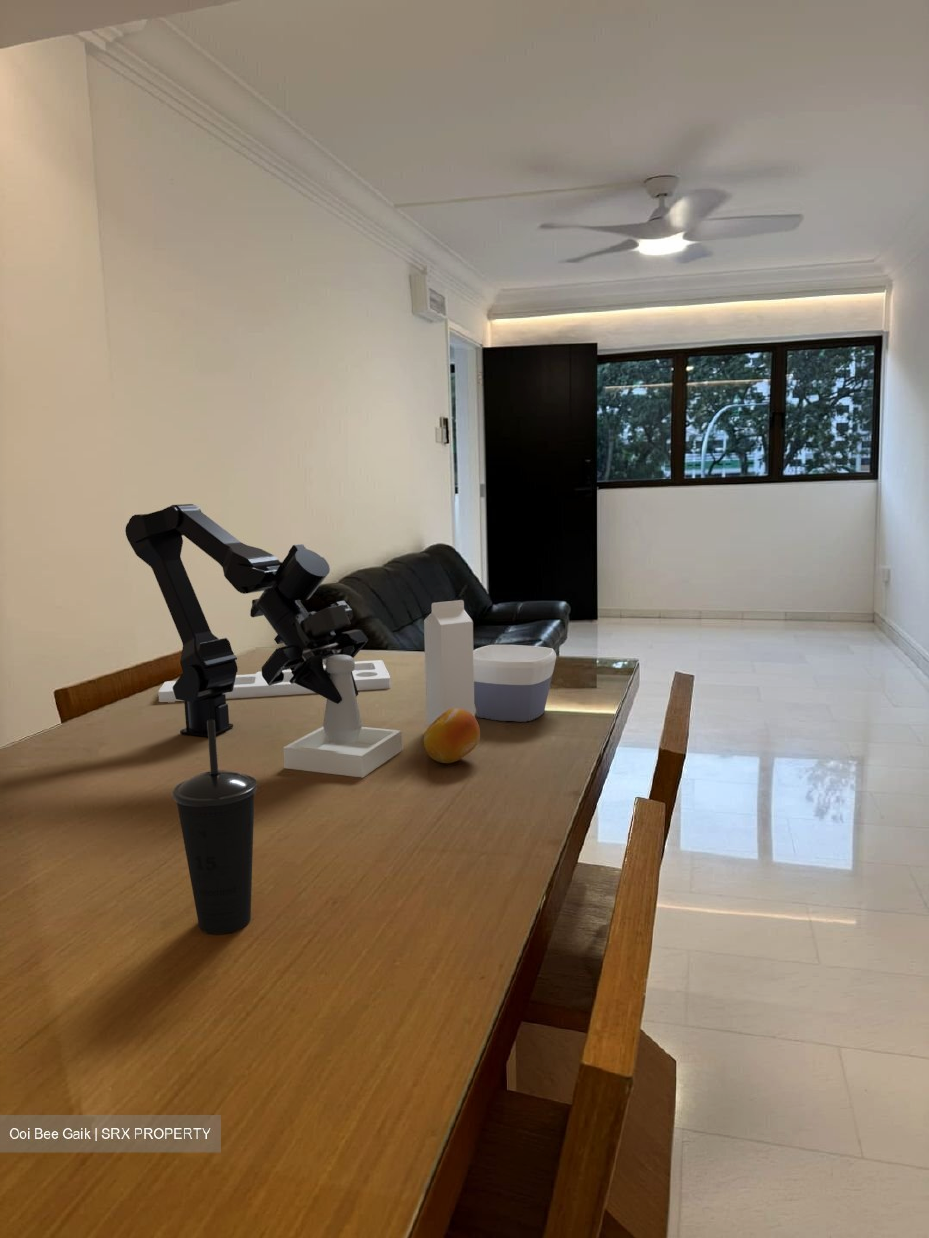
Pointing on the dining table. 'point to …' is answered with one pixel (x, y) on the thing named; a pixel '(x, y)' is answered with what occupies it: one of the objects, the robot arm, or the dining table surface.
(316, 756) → the dish
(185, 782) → the drinking cup
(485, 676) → the bowl
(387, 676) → the holder
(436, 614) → the milk
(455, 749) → the fruit
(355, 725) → the salt shaker
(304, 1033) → the dining table surface
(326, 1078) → the dining table surface
